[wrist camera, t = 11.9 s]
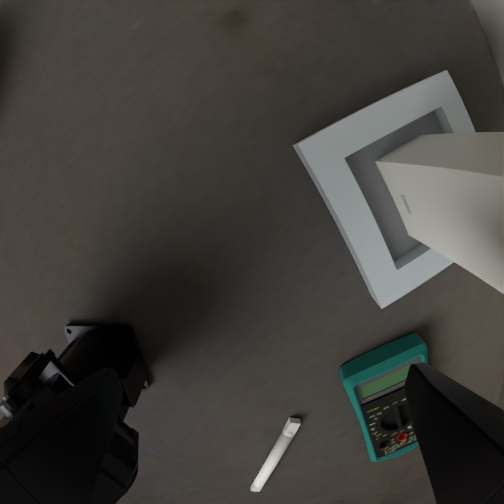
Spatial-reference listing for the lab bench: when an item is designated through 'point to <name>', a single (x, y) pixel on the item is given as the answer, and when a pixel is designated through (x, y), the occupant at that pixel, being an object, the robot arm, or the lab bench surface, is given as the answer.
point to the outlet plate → (381, 181)
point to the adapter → (453, 197)
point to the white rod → (276, 453)
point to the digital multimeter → (384, 395)
